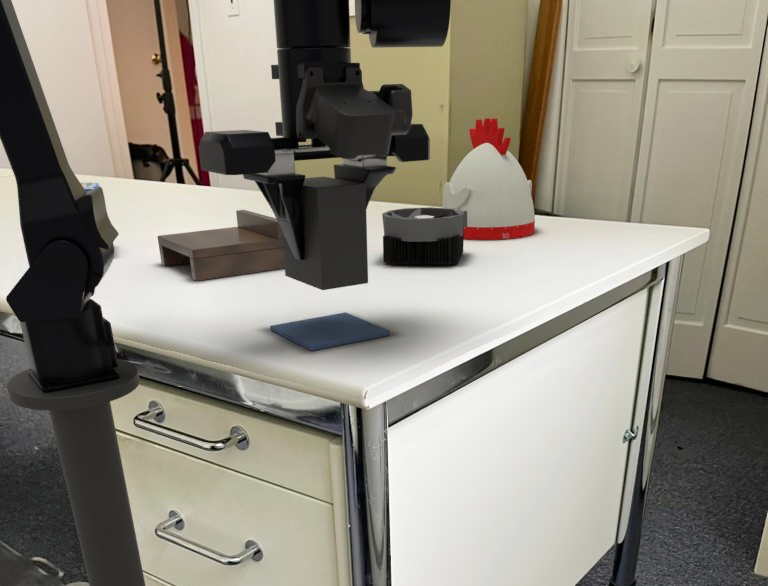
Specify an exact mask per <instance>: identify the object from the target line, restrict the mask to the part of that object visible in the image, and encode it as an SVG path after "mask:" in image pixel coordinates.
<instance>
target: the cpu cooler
mask: <svg viewBox="0 0 768 586" xmlns="http://www.w3.org/2000/svg"><path fill="white" fill-rule="evenodd" d="M381 213H382V212H381ZM381 216H382V226H383V236H382V258H383V260H382V261H383V262H382V263H388V264H389V265H403V264H405V265H406V264H407V265H431V266H433V265H435V266H436V265H439V266H440V265H442V266H443V265H449V266H450V265H451V264H459V261H460V259H461V257H462V255H463V253H464V240H465V239H464V227H467V211H465V210H461V209H448V208H442V207H434V206H432V207H429V206H428V207H406V208H405V207H403V208H398V209H392V210H391V209H390V210H387V211H385V212H383V213H382V214H381Z"/></svg>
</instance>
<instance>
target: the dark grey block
mask: <svg viewBox="0 0 768 586" xmlns="http://www.w3.org/2000/svg"><path fill="white" fill-rule="evenodd" d="M301 207H302V217H303V227H304V237H305V258H304V260H298V259H296V258H295V257H294V254H293V252H292V250H291V248H290V246H289V244H288V242H287V240H286V238H285V236H284V233H283V231H282V237H283V251H284V264H285V268H284V276H285V277H287V278H290V279H293V280H295V281H298V282H300V283H303V284H305V285H308V286H311V287H313V288H316V289H318V290H321V291H327V290H333V289H340V288H345V287H346V288H347V287H352V286H357V285H358V286H359V285H364V284H365V285H366V284H368V283H369V265H368V262H369V261H368V260H369V259H368V227H367V224H368V223H367V221H368V219H367V209H366V184H365V183H359V182H353V181H347V180H341V179H336V178H335V177H329V176H313V177H305V180H304V184H303V187H302V191H301Z"/></svg>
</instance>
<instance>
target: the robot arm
mask: <svg viewBox="0 0 768 586" xmlns="http://www.w3.org/2000/svg"><path fill="white" fill-rule="evenodd" d="M451 4H452V0H354V15H355V16H354V17H355V18H354V19H355V26H356V27H355V28H356V31H357V33H358V34H362V35H368V38H369V43H370V46H371V47H372V49H375V48H381V49H382V48H441V47H442V48H443V46H444V45H445V43H446V40H447V38H448V33H449V27H450V20H451V8H452V7H451V6H452V5H451ZM273 12H274V26H275V27H274V28H275V39H276V40H275V41H276V54H277V56H276V57H277V64H270V69H271V80H278V84H279V99H280V111H281V121H276V122H274V125H275V137H271V135H270V133H269V131H261V130H252V129H251V130H250V129H237V130H234V129H233V130H217V131H216V130H215V131H205V132H204V133H203V135H202V137H201V139H200V140H199V145H198V153H199V163H200V170H201V171H204V172H209V173H215V174H220V175H223V176H243V179H244V180H247V181H253V182H254V183H255V184H256V186H257V187H258V189H259V191H260V192H261V194H262V195H263V197H264V199H265V200H266V202H267V204H268V205H269V208H270V209H271V211H272V213H273V215H274V218H277V221H278V223H279V225H280V227H281V229H282V231H283V233H284V236H285V238H286V240H287V242H288V244H289V246H290V248H291V250H292V252H293V254H294V257H295V258H296V259H298V260H304V258H305V237H304V227H303V217H302V207H301V191H302V187H303V184H304V180H305V178H306V175H305V174H302V173H301V174H300V173H296V164H295V161H296V162H298V161H309V160H310V161H311V160H324V159H342V163H339V164H338V163H337V164H333V172H334V174H333V175H334V178H336V179H341V180H347V181H353V182H359V183H365V184H366V210H367V208H368V206H369V203H370V201H371V198H372V197H373V194H374V191H375V189H376V188H377V187H378V186H379V184H380V183H381V182H382V181H383V180H384V179H385V177H386V176H387V175H393V174H394V173H395V172H396V169H397V167H396V166H390V165H388V157H395V158H396V160H397V161H398V162H399V163H408V162H421V161H429V160H430V159H431V138H430V136H429V133H428V132H427V130H426V128H425V126H424V124H423V123H414V122H413V121H412V120H413V100H412V99H413V98H412V90H411V88H408V87H407V86H406V85H405V84H402V83H393V84H392V83H389V84H387V83H385V84H382V85H381V86H380V89H379V90H367V89H365V87H364V83H363V72H362V69H361V63H360V62H352V49H351V24H350V23H351V22H350V21H351V20H350V19H351V18H350V17H351V16H350V0H273ZM40 81H41V80H40V78H39V75H38V71H37V70H36V66H35V64H34V61H33V58H32V55H31V53H30V49H29V47H28V44H27V41H26V38H25V35H24V32H23V29H22V27H21V23H20V21H19V19H18V15H17V12H16V9H15V7H14V4H13V1H12V0H0V141H1V144H2V147H3V149H4V152H5V154H6V157H7V159H8V162H9V165H10V168H11V170H12V173H13V175H14V178H15V183H16V189H17V201H18V214H19V223H20V230H21V234H22V240H23V244H24V248H25V253H26V258H27V262H28V266H29V267H28V268H27V270H26V271H25V272H24V273H23V275H21V277H20V279H19V280H18V281H17V283H15V285H14V286H13V288H12V289H11V290H10V292H9V293H8V294H7V295H6V296H5V301H6V302H7V304H8V306H9V307H10V309H11V310H12V312H13V314H14V315H15V317H16V318H17V321H19V324H20V328H21V333H22V337H23V342H24V346H25V350H26V354H27V358H28V363H29V367H30V368H31V369H30V368H27V369H28V375H29V376H30V377H31V379H32V380H33V381H34V382H35V384H36V385H37V386H38V387H39V389H40V390H41V391H42V392H43V393H51V392H56V391H61V390H66V389H71V388H76V387H81V386H86V385H92V384H97V383H102V382H107V381H112V380H117V379H119V373H118V372H117V371H116V370H115V369H114V368H116V367H117V366H118V361H117V359H118V357H117V355H118V354H117V351H116V344H115V339H114V335H113V329H112V324H111V322H110V321H109V320H108V319H106V318H105V317H104V316H103V311H102V305H101V304H99V303H98V302H96V301H95V300H94V299H92V297H93V296H94V295H95V292H96V288H97V287H98V286H99V284H100V283H101V282H102V280H103V278H104V277H105V275H106V274H107V272H108V270H109V269H110V267H111V265H112V264H113V262H114V261H113V260H114V258H115V245H114V242H115V240H116V239H117V237H118V236H119V231H118V230H117V229H116V228H115V227H114V225H113V223H112V222H111V220H110V217H109V214H108V210H107V205H106V198H105V194H104V190H103V188H102V187H101V186H100V187H97V188H94V189H92V190H90V191H88V192H86V191H85V189H84V188H83V186H82V185H81V183H82V182H80V181H79V179H78V177H77V175H76V174H75V173H74V171H73V170H72V167H71V165H70V164H69V161H68V158H67V156H66V152H65V149H64V146H63V144H62V141H61V138H60V135H59V132H58V130H57V127H56V124H55V121H54V118H53V115H52V112H51V109H50V106H49V104H48V100H47V98H46V96H45V95H46V94H45V93H44V89H43V87H42V84H41V82H40ZM412 122H413V123H412ZM307 140H310V143H306V142H307ZM299 143H304V144H299Z"/></svg>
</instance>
